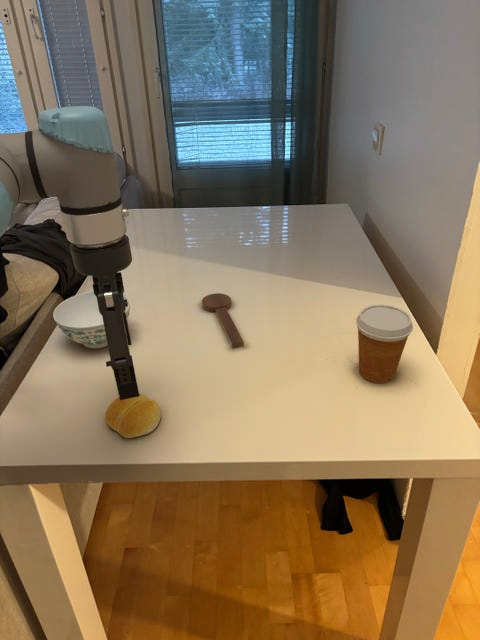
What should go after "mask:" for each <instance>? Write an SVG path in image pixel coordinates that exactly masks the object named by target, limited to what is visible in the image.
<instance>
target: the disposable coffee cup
mask: <svg viewBox="0 0 480 640" xmlns="http://www.w3.org/2000/svg"><path fill="white" fill-rule="evenodd" d="M355 324H356V327H357V337H358V338H357V339H358V342H357V343H358V348H357V349H358V373H359V375H360V376H361V378H363V379H364V380H366V381H368V382H370V383H374V384H386V383H389V382H391V381H393V379H394V378H395V375H396V372H397V370H398V366H399V364H400V360H401V359H402V355H403V352H404V350H405V347H406V344H407V341H408V338H409V336H410V335H411V333H412V332H413V330H414V324H413V322H412V317H411V315H410V314H409V313H408V311H407V312H406V311H405V310H404V309H402V308H400V307H397V306H393V305H389V304H372V305H367V306H365V307H364V308H362V309H361V310H360V311H359V314H357V316H356V318H355Z"/></svg>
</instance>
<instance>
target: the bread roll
mask: <svg viewBox="0 0 480 640" xmlns="http://www.w3.org/2000/svg"><path fill="white" fill-rule="evenodd" d="M161 417H162V410H161V407H160V405H159V403H158V402H157V401H156V400H155V399H151V398H150V397H149V396H147V395H146V394H143V393H142V392H141V393H140V392H139V397H134V398H129V399H124V400H120V398H119V396H118V397H116V398H115V399H114V400H113V401H112V402H111V403H109V405H108V406H107V408H106V411H105V414H104V419H105V422H106V424H107V425H108V426H109V427H110V428H111V429H113V430H114V431H115V432H117V433H118V434H119V435H120V436H122V437H124V438H127V439H131V438H136V437H141V436H143V435H144V436H145V435H147V434H150V433H152V432H153V431H154V430H155V429H156V428H157V427H158V425H159V423H160V421H161Z"/></svg>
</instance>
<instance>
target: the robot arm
mask: <svg viewBox="0 0 480 640" xmlns="http://www.w3.org/2000/svg"><path fill="white" fill-rule="evenodd" d="M37 119H38V126H37V127H38V128H37V129H36V128H35V129H33V130H27V131H17V132H4V133H0V238H2V236H3V235H5V234H6V232H7V229H8V228H9V227H10V226H11V224H12V221H13V219H14V212H15V210H16V208H17V206H18V204H19V202H26V201H34V200H42V199H43V200H44V199H50V198H56V199H57V201H58V205H59V212H60V216H61V219H62V220H61V221H62V223H63V228H64V232H65V235H66V240H67V241H68V242H70V244H69V250H70V255H71V258H72V262H73V263H72V264H73V267H74V269H75V271H76V272H77V273H79V274H80V275H83V276H87V277H89V276H90V277H92V283H93V284H92V291H94V294H95V296H96V297H97V302H98V308H99V312H100V314H101V315H102V317H103V323H104V328H105V333H106V338H107V344H108V345H107V349H108V355H109V359H110V360H108V361H107V360H106V361H105V364H106V367H110V368H111V369H112V372H113V376H114V379H115V383H116V384H115V385H116V389H117V394H118V397H119V398H120V400H124V399H129V398H134V397H139V393H140V391H139V385H138V381H137V376H136V370H135V367H134V361H133V356H132V355H131V352H130V346H131V345H132V340H131V333H130V330H129V325H128V320H127V318H126V313H125V310H126V307H127V306H128V303H127V299H125V300H124V296H123V295H124V293H125V287H124V281H123V280H124V279H123V274H122V271H124V270H126V269H127V268H129V266H130V265H131V264H132V261H133V255H132V249H131V248H132V247H131V244H130V243H131V242H130V238H129V236H128V235H127V232H128V231H127V229H128V228H127V223H126V219H125V218H126V217H129V216H130V211H129V210H128V208H123V207H124V205H123V200H122V194H121V186H120V180H119V175H118V169H117V168H118V167H117V162H116V155H115V149H114V146H113V141H112V136H111V132H110V128H109V123H108V119H107V116H106V114H105V113H104V112H103V111H102V110H101V109H99V107H95V106H89V105H75V106H63V107H54V108H49V109H45V110H42V111H41V112H40V113H39V114H38V117H37Z"/></svg>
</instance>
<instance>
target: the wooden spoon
mask: <svg viewBox="0 0 480 640" xmlns="http://www.w3.org/2000/svg"><path fill="white" fill-rule="evenodd" d="M201 307H202V309H203V310H204V311H206V312H208V313H215V315H216V316H215V317H216V318H217V320H218V323H219V324H220V326H221V328H222V330H223V332H224V335H225V336H226V339H227V340H228V342H229V345H230V347H231V348H232V349H236V348H242V347H244V340H243V338H242V336H241V334H240V331H239V330H238V329H237V326H236V324H235V323H234V321H233V319H232V317H231V315H230V314H229V311H228V310H229V309H231V307H232V298H231V297H230V295H228V294H225V293H221V292H220V293H219V292H218V293H217V292H216V293H209V294H207V295H205V296H204V297H203V298H202V299H201Z"/></svg>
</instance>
